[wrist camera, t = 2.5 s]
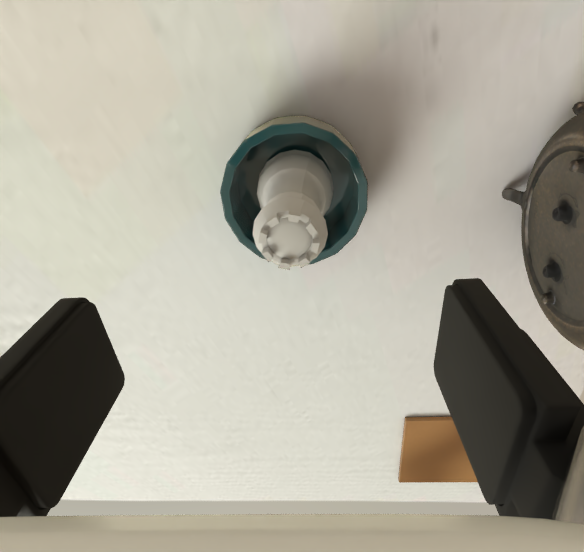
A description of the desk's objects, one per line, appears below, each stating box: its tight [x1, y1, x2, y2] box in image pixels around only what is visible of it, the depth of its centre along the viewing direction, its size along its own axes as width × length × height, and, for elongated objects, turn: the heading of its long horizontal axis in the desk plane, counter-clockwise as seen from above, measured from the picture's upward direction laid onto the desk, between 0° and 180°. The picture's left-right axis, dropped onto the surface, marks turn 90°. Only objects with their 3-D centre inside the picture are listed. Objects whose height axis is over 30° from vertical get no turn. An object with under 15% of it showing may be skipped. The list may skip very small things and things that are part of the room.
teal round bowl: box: [220, 116, 368, 264], centre depth 21 cm, size 8×8×3 cm
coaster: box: [398, 417, 478, 482], centre depth 34 cm, size 9×9×1 cm
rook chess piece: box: [253, 150, 333, 270], centre depth 19 cm, size 4×4×8 cm
